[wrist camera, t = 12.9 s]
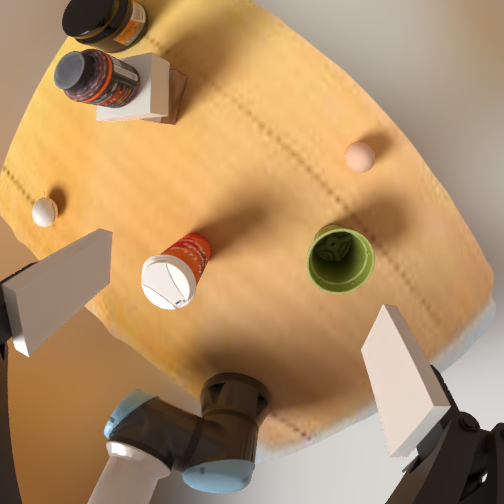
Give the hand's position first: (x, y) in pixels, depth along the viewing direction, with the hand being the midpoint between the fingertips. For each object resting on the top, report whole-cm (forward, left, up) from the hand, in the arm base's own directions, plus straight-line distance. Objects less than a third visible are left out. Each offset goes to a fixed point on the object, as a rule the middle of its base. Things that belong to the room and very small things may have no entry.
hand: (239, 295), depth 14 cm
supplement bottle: (+9, +22, -23) cm, 33 cm away
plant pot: (-6, -11, -35) cm, 37 cm away
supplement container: (+21, +33, -35) cm, 52 cm away
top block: (+9, +21, -29) cm, 37 cm away
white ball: (-14, +41, -35) cm, 55 cm away
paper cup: (-14, +10, -35) cm, 39 cm away
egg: (+8, -10, -35) cm, 37 cm away
